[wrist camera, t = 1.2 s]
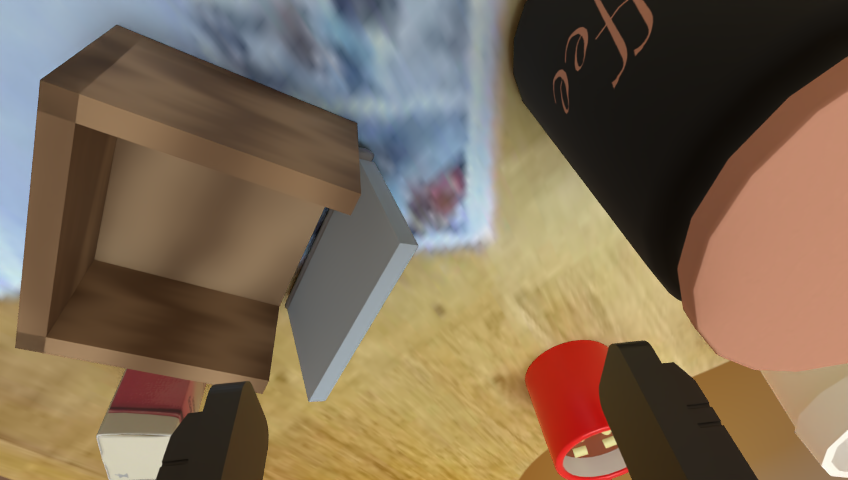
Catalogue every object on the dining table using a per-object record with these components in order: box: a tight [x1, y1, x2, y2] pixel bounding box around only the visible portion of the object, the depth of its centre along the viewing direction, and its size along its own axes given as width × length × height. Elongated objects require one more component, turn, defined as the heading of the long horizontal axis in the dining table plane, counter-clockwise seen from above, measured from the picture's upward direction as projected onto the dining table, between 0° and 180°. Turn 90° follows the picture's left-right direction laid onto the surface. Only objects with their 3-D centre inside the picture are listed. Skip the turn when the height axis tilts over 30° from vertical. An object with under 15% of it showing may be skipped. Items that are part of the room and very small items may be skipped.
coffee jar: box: [513, 0, 848, 372], centre depth 20 cm, size 11×11×18 cm
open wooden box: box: [15, 25, 361, 394], centre depth 26 cm, size 12×14×8 cm
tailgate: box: [285, 147, 418, 402], centre depth 29 cm, size 1×12×8 cm, turn 153°
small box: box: [96, 369, 206, 480], centre depth 34 cm, size 5×4×8 cm
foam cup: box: [760, 363, 848, 478], centre depth 36 cm, size 10×9×13 cm
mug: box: [525, 340, 629, 480], centre depth 42 cm, size 8×12×8 cm, turn 18°
